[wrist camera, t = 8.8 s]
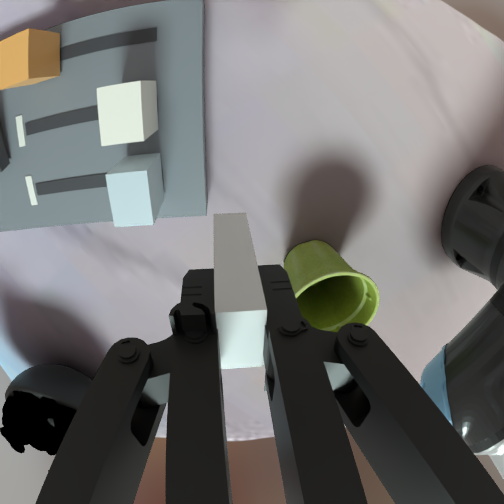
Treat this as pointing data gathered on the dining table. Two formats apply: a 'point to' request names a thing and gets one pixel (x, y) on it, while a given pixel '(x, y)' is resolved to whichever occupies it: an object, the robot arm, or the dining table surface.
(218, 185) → the dining table surface
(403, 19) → the dining table surface
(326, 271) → the plant pot
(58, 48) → the slider orange
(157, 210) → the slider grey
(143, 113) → the slider cream
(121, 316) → the dining table surface
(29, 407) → the bowl of black rocks
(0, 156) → the block
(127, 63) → the panel
